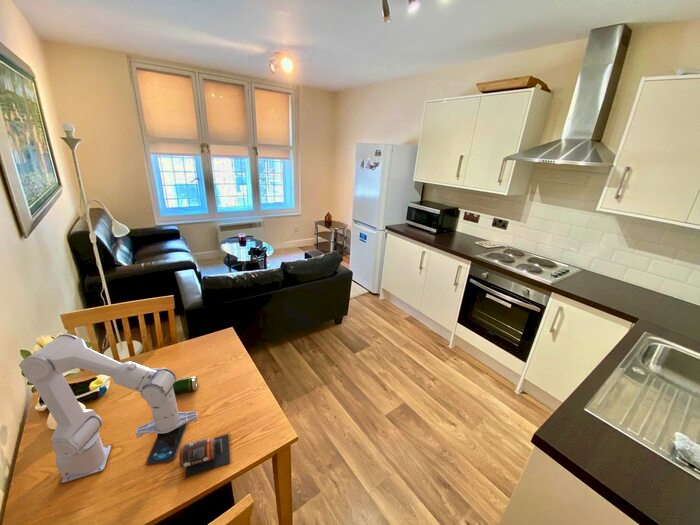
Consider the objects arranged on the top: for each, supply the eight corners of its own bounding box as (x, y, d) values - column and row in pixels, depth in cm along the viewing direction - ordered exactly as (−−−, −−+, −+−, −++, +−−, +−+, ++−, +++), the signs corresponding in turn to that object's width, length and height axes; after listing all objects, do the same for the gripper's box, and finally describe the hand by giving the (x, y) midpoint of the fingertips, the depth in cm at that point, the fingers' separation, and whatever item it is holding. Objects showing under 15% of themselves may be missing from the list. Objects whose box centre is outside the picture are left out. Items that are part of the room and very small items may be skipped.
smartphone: (145, 463, 86) (165, 419, 100) (145, 464, 87) (165, 420, 100) (173, 459, 88) (189, 416, 101) (173, 460, 88) (189, 417, 102)
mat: (185, 478, 84) (185, 477, 84) (188, 447, 92) (188, 446, 92) (229, 462, 89) (229, 462, 89) (228, 434, 97) (228, 434, 97)
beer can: (160, 400, 107) (196, 393, 111) (158, 388, 106) (194, 381, 110) (163, 391, 112) (197, 384, 116) (161, 379, 111) (196, 373, 115)
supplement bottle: (179, 473, 84) (221, 461, 87) (177, 453, 83) (220, 442, 87) (183, 460, 89) (223, 449, 93) (182, 441, 89) (221, 431, 93)
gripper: (195, 391, 85) (201, 424, 90) (136, 406, 79) (146, 440, 84) (194, 411, 79) (200, 444, 84) (130, 428, 73) (141, 463, 78)
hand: (173, 443), depth 84 cm, fingers closed
